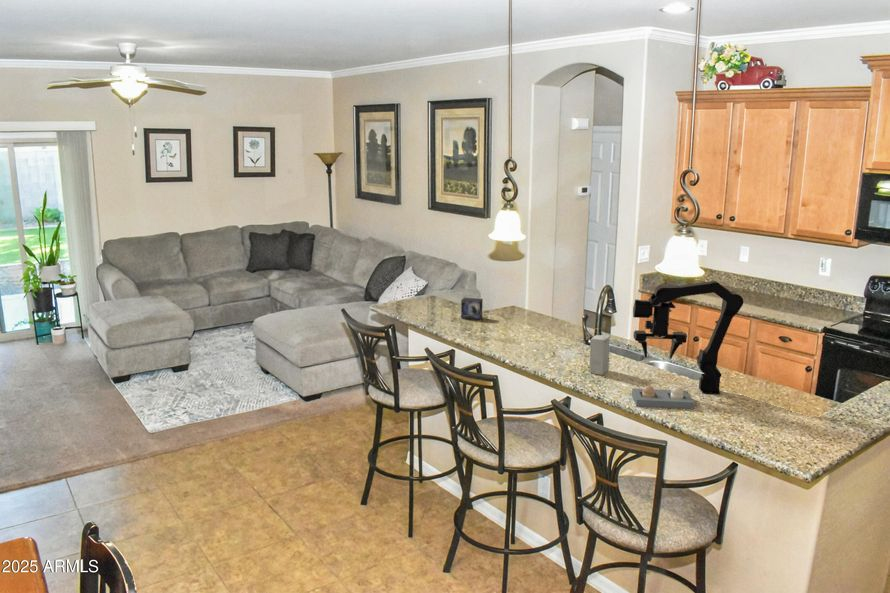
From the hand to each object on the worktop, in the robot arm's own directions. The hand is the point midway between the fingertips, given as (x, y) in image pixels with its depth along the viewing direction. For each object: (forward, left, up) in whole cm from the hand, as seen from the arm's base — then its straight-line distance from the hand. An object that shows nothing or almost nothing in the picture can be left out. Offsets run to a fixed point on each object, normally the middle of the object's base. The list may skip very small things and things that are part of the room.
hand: (658, 358), depth 268 cm
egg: (-5, +15, -12) cm, 20 cm away
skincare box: (+20, -17, -12) cm, 29 cm away
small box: (+80, -99, -12) cm, 128 cm away
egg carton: (0, +15, -12) cm, 19 cm away
